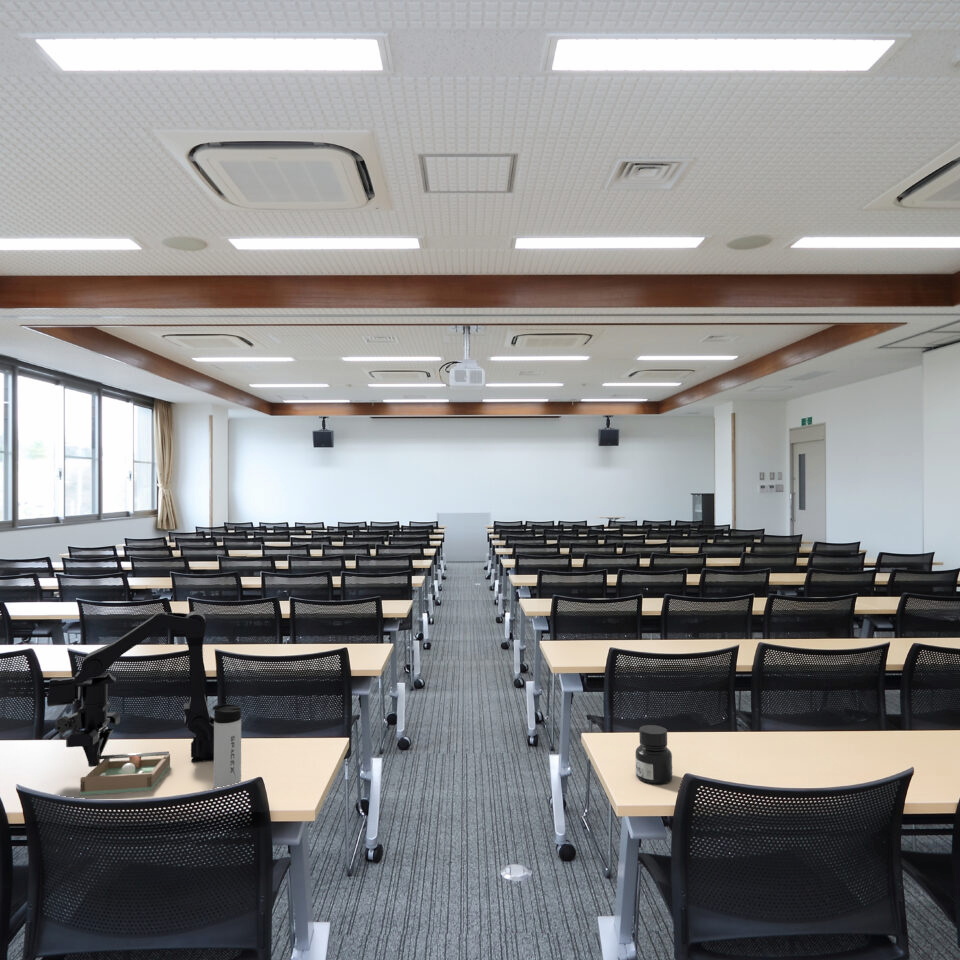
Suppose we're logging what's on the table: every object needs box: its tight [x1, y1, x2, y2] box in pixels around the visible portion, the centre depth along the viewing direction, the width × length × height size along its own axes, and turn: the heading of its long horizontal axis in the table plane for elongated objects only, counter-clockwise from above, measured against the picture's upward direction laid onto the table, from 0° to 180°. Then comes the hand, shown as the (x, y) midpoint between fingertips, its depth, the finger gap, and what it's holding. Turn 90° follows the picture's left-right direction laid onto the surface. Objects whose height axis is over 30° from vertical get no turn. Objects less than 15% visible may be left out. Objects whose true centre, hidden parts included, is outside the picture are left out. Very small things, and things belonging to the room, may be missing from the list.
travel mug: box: [212, 704, 242, 789], centre depth 164 cm, size 6×7×20 cm
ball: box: [121, 763, 135, 774], centre depth 170 cm, size 3×3×3 cm
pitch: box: [79, 753, 171, 796], centre depth 169 cm, size 16×15×4 cm
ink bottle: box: [635, 724, 673, 785], centre depth 168 cm, size 10×9×12 cm
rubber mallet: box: [87, 750, 170, 768], centre depth 174 cm, size 20×3×6 cm, turn 99°
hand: (94, 762), depth 173 cm, fingers closed on rubber mallet, 3 cm apart
